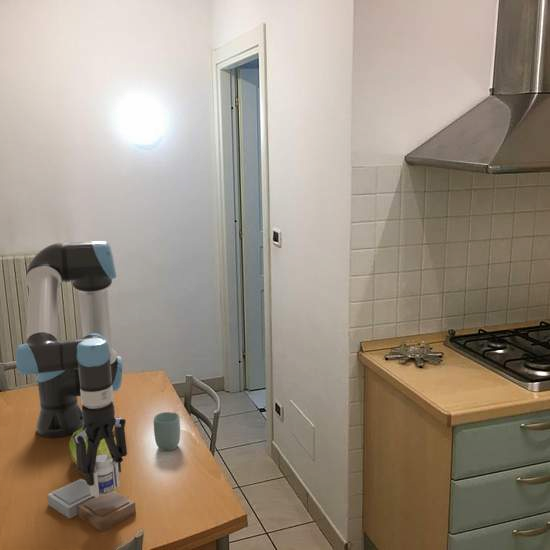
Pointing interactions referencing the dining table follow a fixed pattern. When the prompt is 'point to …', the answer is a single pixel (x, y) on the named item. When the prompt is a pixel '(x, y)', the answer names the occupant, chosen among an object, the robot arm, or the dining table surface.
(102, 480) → the pill bottle
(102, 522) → the stand
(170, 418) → the cup
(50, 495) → the stand
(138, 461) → the dining table surface
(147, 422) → the dining table surface
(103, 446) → the lettuce
